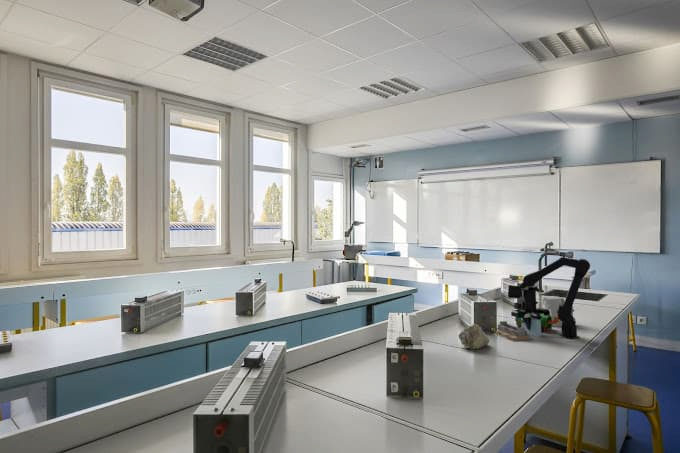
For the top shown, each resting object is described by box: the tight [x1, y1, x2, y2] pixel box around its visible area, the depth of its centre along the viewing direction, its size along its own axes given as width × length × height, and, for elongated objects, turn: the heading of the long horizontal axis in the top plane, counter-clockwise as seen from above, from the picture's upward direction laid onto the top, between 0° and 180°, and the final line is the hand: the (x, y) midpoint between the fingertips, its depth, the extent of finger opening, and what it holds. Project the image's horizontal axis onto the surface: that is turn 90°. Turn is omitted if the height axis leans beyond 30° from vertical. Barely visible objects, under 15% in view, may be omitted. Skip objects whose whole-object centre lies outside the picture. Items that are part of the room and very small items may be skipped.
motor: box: [514, 310, 559, 332], centre depth 215 cm, size 10×9×20 cm
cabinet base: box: [496, 320, 532, 341], centre depth 205 cm, size 20×10×6 cm, turn 12°
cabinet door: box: [520, 317, 542, 338], centre depth 207 cm, size 12×3×8 cm, turn 12°
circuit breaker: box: [542, 295, 575, 327], centre depth 224 cm, size 8×14×15 cm, turn 89°
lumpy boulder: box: [458, 323, 490, 350], centre depth 187 cm, size 11×11×15 cm
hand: (531, 329), depth 207 cm, fingers closed on cabinet door, 2 cm apart
